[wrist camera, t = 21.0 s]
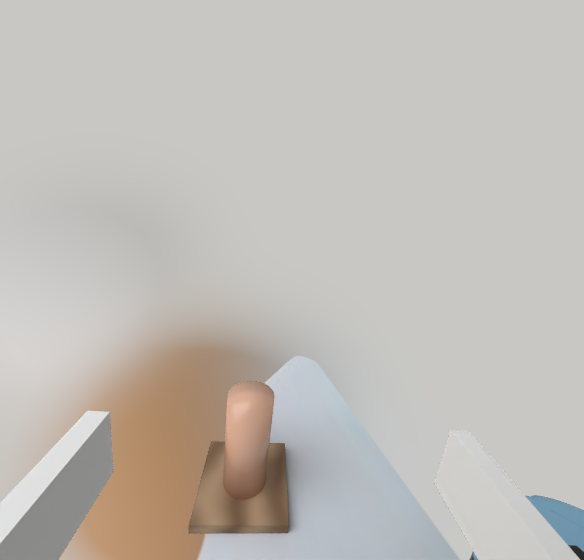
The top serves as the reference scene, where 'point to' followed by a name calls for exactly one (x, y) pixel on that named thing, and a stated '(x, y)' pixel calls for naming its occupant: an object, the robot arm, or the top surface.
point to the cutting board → (241, 513)
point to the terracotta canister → (247, 438)
